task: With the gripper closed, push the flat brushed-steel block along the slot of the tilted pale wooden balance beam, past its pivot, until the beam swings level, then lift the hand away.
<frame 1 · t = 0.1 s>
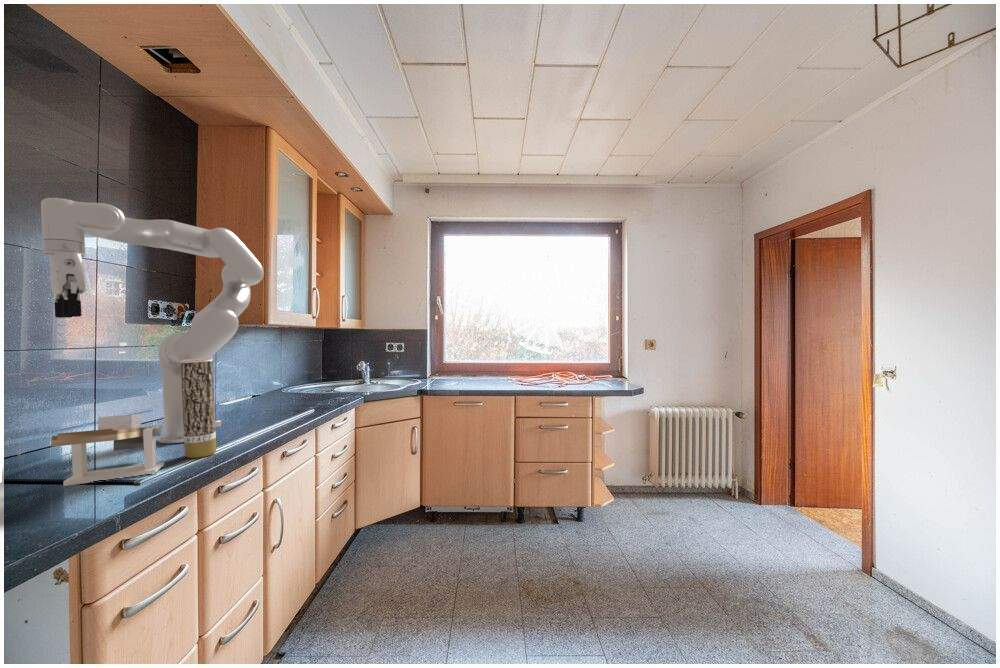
hand: (68, 317, 110), 37 cm above the countertop, tool pointing down, fingers open, 9 cm apart
bark textured cylinder: (200, 455, 113), on the countertop
steel block: (120, 433, 101), point 9 cm above the countertop, tilted 10°, touching balance beam
pivot stand: (116, 475, 98), on the countertop
balance beam: (114, 440, 98), point 8 cm above the countertop, hinge at -10.3°, touching steel block
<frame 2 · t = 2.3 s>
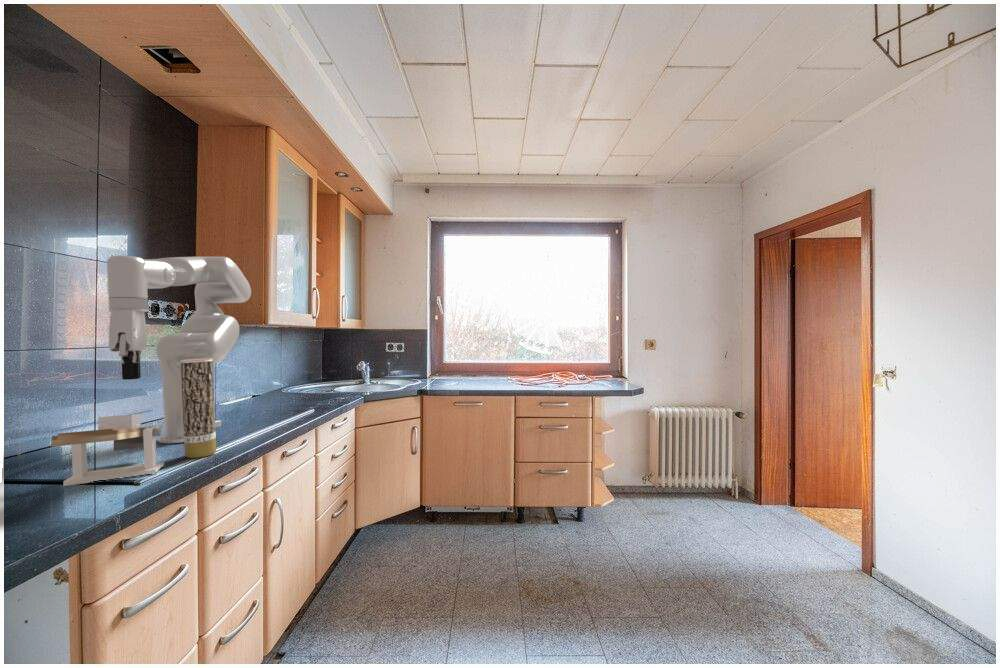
hand: (131, 378, 108), 21 cm above the countertop, tool pointing down, fingers closed
nothing on the countertop moved.
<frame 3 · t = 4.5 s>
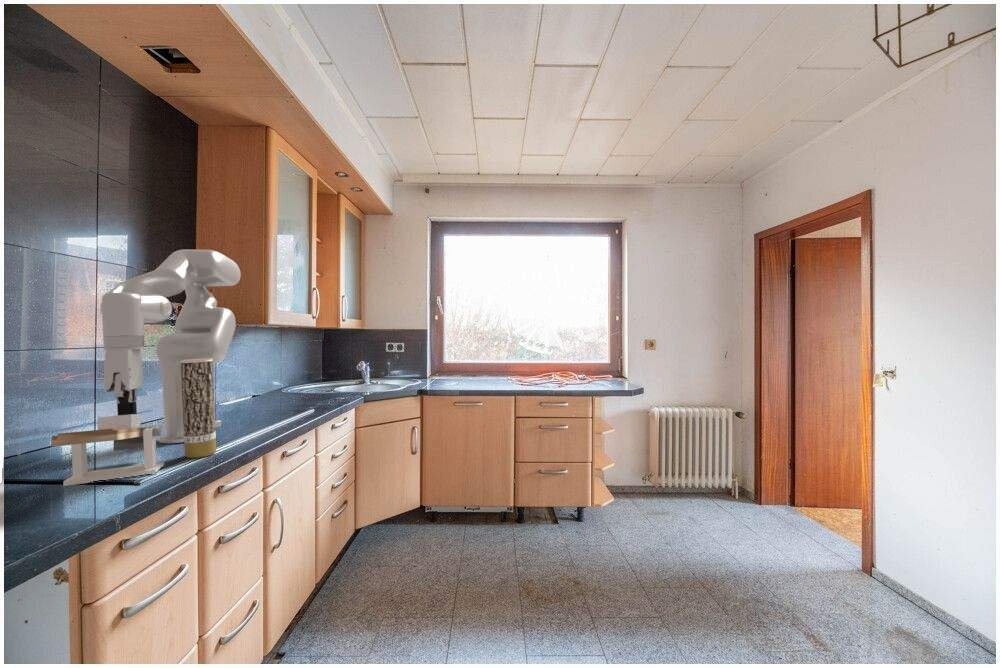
hand: (127, 418, 105), 11 cm above the countertop, tool pointing down, fingers closed
steel block: (119, 433, 101), point 9 cm above the countertop, tilted 10°, touching balance beam, gripper
everything else where it was.
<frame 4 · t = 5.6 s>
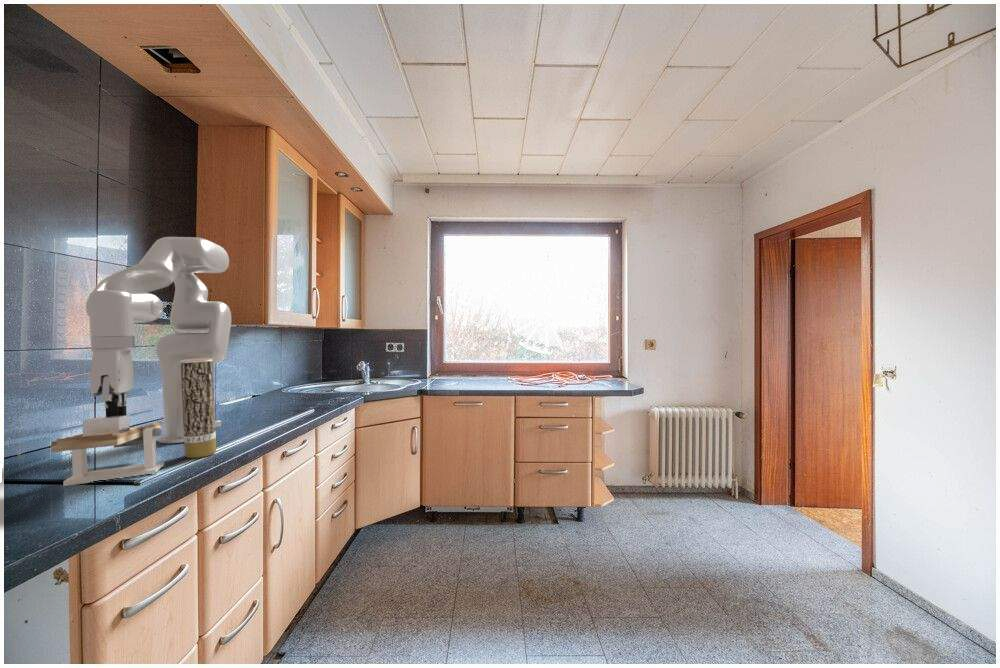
hand: (116, 423, 99), 12 cm above the countertop, tool pointing down, fingers closed
steel block: (107, 435, 94), point 10 cm above the countertop, tilted 6°, touching balance beam, gripper
balance beam: (114, 440, 98), point 8 cm above the countertop, hinge at -6.0°, touching steel block
everything else where it was.
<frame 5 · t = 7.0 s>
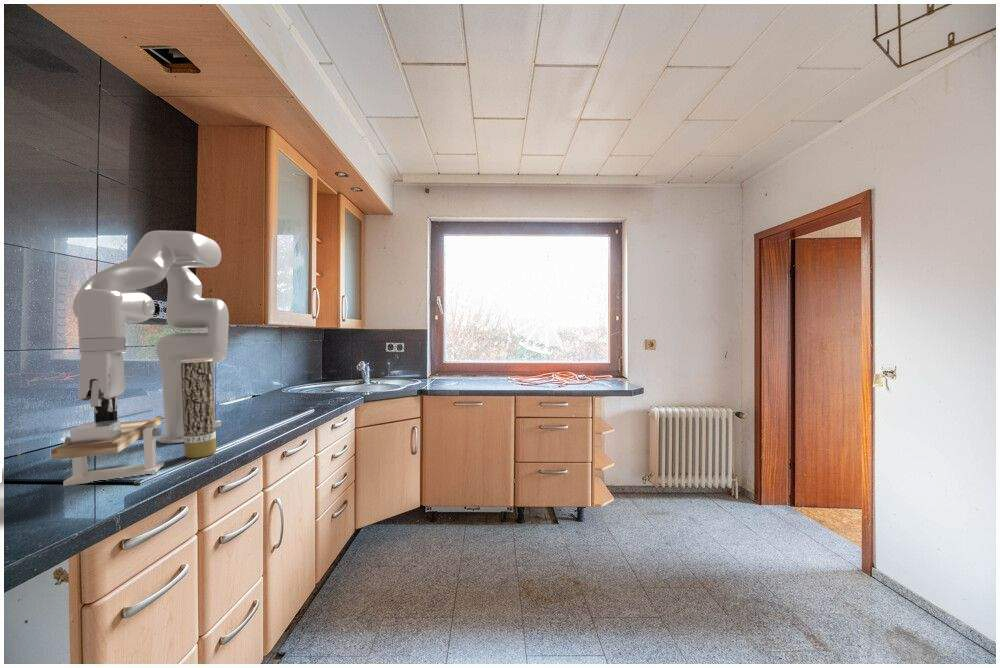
hand: (107, 429, 94), 11 cm above the countertop, tool pointing down, fingers closed
steel block: (97, 443, 90), point 10 cm above the countertop, touching balance beam, gripper
balance beam: (115, 440, 98), point 8 cm above the countertop, hinge at 0.3°, touching steel block
everything else where it was.
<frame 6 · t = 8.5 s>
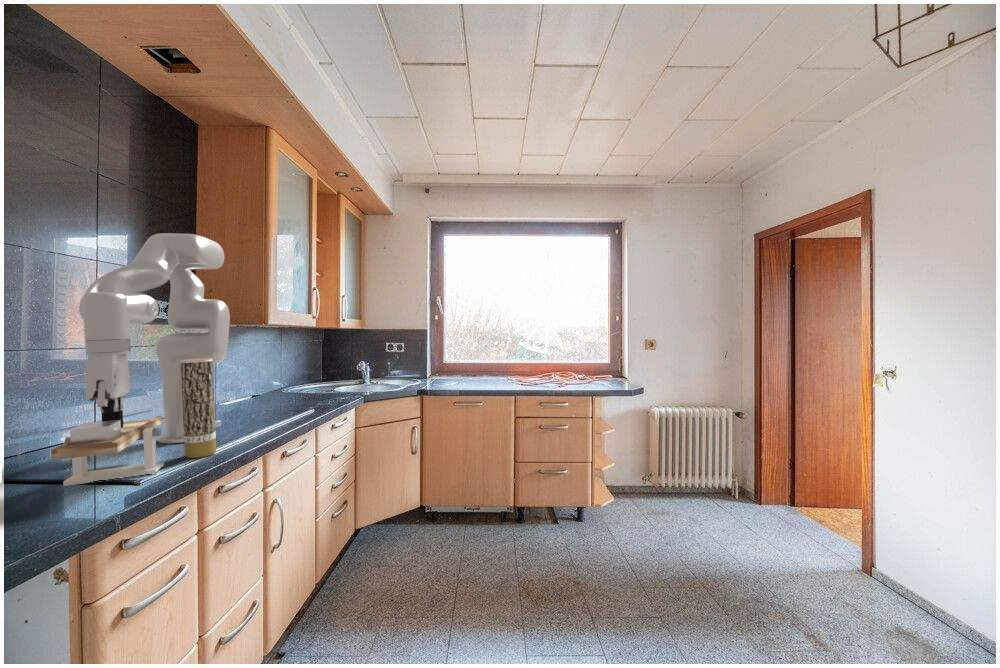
hand: (113, 428, 97), 11 cm above the countertop, tool pointing down, fingers closed
steel block: (97, 443, 90), point 10 cm above the countertop, touching balance beam
everything else where it was.
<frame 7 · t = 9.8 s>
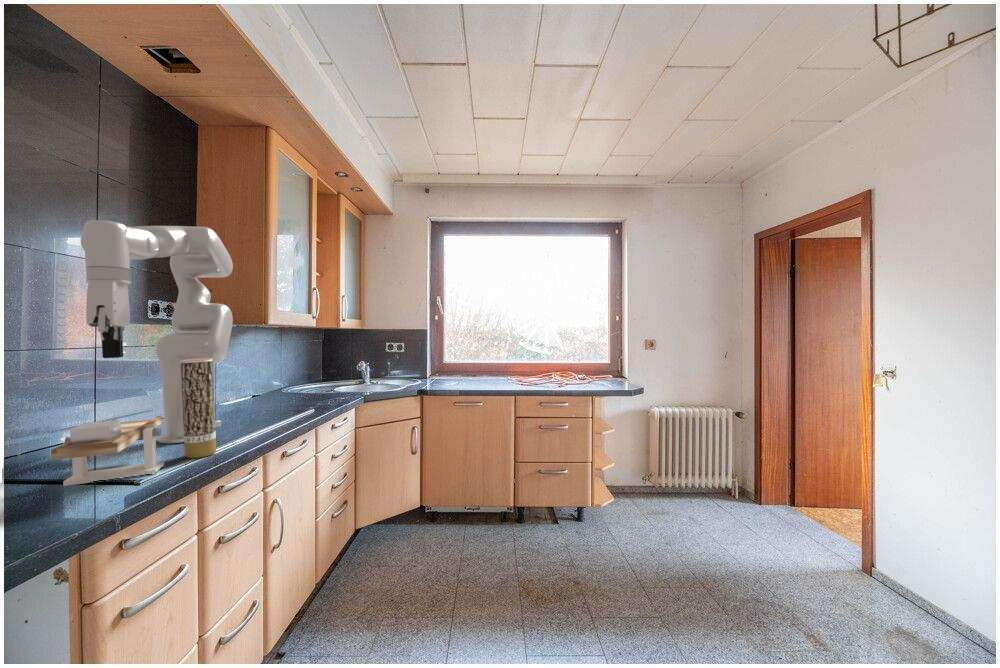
hand: (113, 357, 99), 27 cm above the countertop, tool pointing down, fingers closed
nothing on the countertop moved.
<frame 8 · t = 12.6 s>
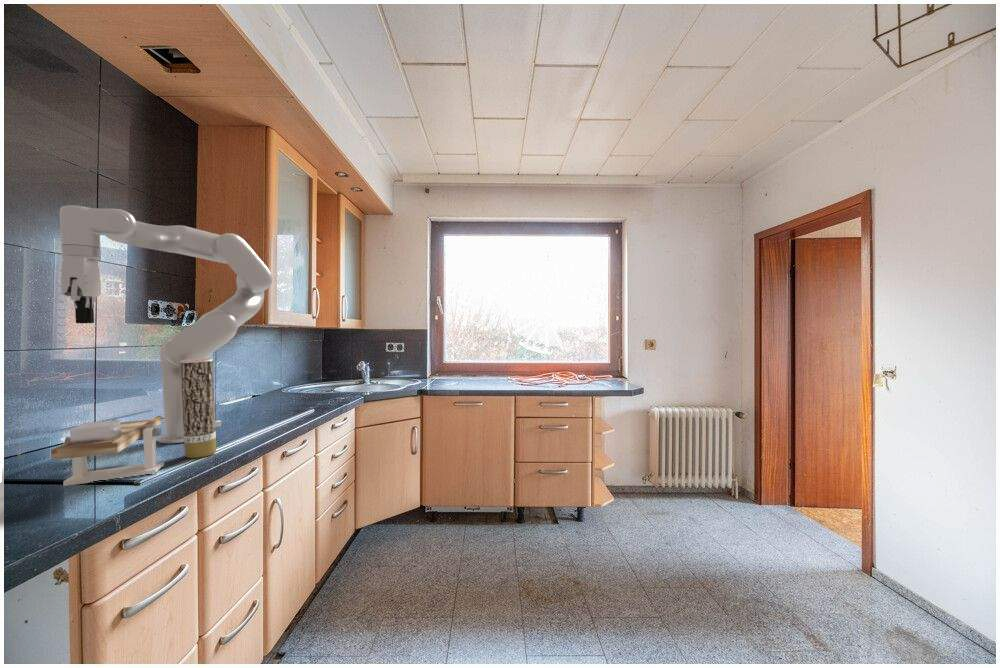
hand: (85, 323, 115), 35 cm above the countertop, tool pointing down, fingers closed
nothing on the countertop moved.
at the end: balance beam at +0° (first picture: -10°); steel block 0.9 cm from the target spot on the balance beam, point 0.6 cm above the balance beam's base; steel block touching balance beam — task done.
